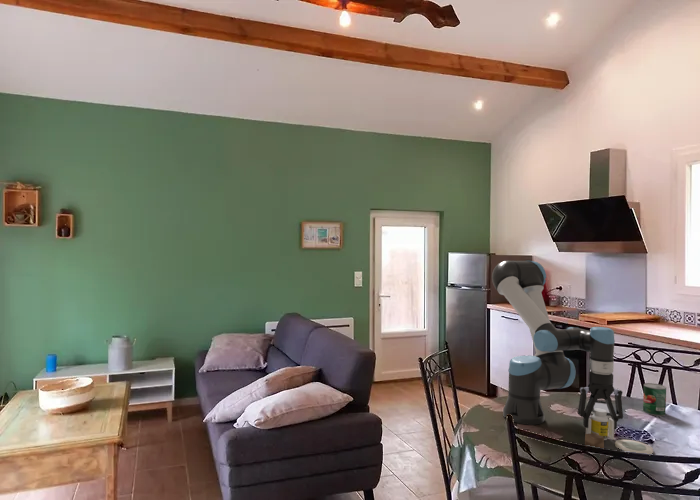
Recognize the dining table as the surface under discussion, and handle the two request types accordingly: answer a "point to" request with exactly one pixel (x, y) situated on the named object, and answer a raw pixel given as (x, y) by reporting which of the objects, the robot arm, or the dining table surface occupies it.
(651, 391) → the canned tomato
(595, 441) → the walnut block
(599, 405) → the gaming console
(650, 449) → the saucer
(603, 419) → the supplement bottle
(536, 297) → the robot arm
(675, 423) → the dining table surface
